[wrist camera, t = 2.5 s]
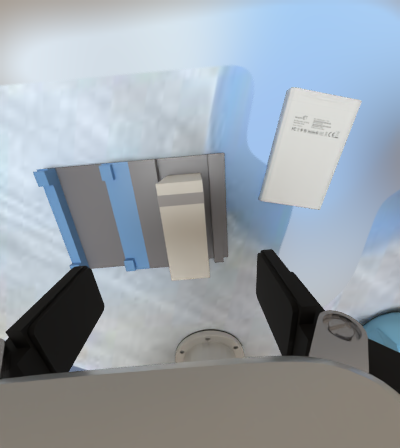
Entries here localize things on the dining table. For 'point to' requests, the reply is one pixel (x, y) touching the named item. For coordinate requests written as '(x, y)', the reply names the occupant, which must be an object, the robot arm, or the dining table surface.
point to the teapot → (385, 330)
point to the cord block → (184, 225)
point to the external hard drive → (307, 147)
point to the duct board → (129, 209)
